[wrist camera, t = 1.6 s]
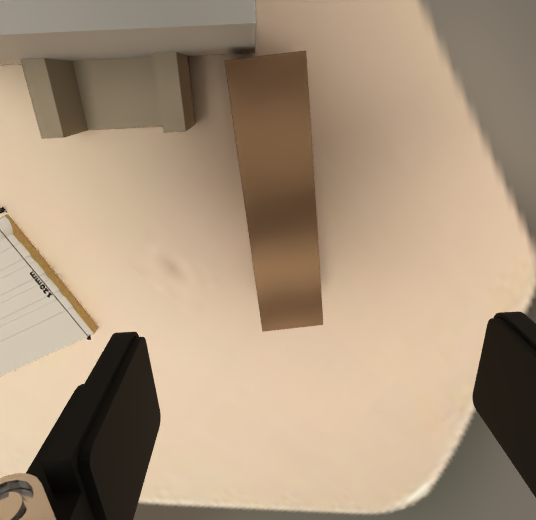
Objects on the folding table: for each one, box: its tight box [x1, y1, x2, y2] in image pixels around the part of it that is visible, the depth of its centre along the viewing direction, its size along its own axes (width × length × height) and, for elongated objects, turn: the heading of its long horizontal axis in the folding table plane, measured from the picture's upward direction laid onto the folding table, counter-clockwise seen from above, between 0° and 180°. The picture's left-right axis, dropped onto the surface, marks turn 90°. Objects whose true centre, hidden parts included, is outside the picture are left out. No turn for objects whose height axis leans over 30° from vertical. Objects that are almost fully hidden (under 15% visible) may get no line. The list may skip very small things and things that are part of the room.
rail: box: [225, 51, 323, 331], centre depth 25 cm, size 16×4×6 cm, turn 6°
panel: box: [0, 0, 256, 139], centre depth 18 cm, size 5×16×14 cm, turn 92°
